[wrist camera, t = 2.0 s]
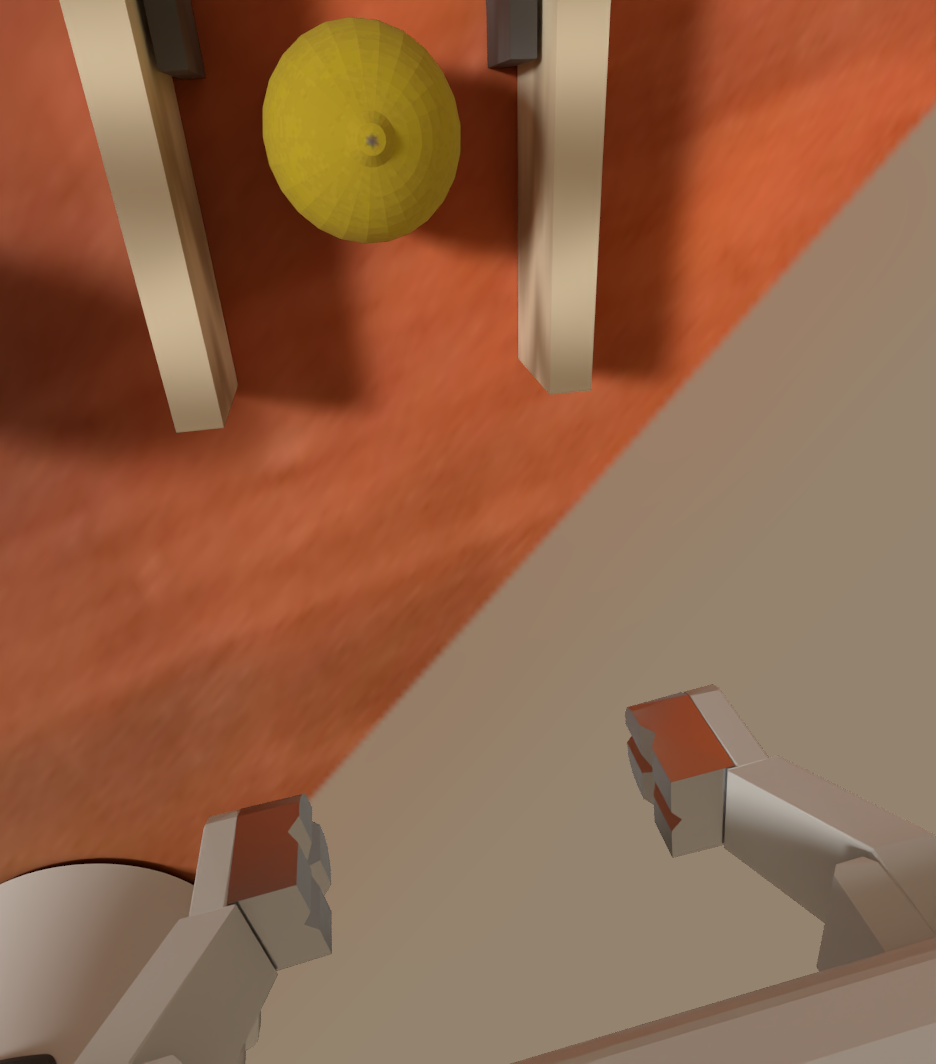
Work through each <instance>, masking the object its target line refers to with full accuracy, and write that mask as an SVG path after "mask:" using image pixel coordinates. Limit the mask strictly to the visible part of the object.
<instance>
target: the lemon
mask: <svg viewBox="0 0 936 1064" xmlns="http://www.w3.org/2000/svg"><path fill="white" fill-rule="evenodd" d="M263 140H264V144H265V149H266V153H267V157H268V162H269V166H270V168H271V170H272V172H273V174H274V176H275V178H276V180H277V183H278V185H279V187H280V189H281V191H282V192H283V194H284V195H285V196H286V197H287V199H288V200H289V201H290V202H291V204H292V205H293V206H294V207H295V209H296V210H297V211H298V212H299V213H300V214H301V215H302V216H304V217H305V218H306V219H307V220H308V221H310V222H311V223H312V224H313V225H315V226H316V227H317V228H318V229H320V230H322V231H325V232H327V233H329V234H331V235H333V236H335V237H337V238H339V239H343V240H348V241H354V242H359V243H377V242H388V241H391V240H394V239H396V238H399V237H402V236H404V235H407V234H410V233H411V232H412V231H414V230H415V229H417V228H418V227H419V226H421V225H422V224H423V223H425V222H426V221H428V220H429V218H430V217H431V216H432V215H433V214H434V212H435V211H436V210H437V209H438V208H439V206H440V205H441V204H442V203H443V202H444V200H445V198H446V196H447V194H448V191H449V189H450V187H451V185H452V183H453V181H454V179H455V175H456V171H457V166H458V162H459V157H460V142H461V125H460V120H459V116H458V111H457V106H456V101H455V97H454V95H453V93H452V91H451V88H450V86H449V84H448V82H447V80H446V77H445V75H444V73H443V71H442V70H441V68H440V67H439V66H438V65H437V63H436V62H435V61H434V59H433V58H432V57H431V55H430V54H429V53H428V52H427V50H426V49H425V48H424V47H423V46H421V45H420V44H419V43H418V42H416V41H415V40H414V39H413V38H411V37H410V36H409V35H408V34H406V33H405V32H404V31H402V30H400V29H398V28H395V27H393V26H391V25H388V24H386V23H383V22H381V21H379V20H373V19H364V18H355V17H348V18H343V19H337V20H332V21H327V22H324V23H322V24H320V25H318V26H316V27H315V28H313V29H311V30H309V31H307V32H306V33H304V34H302V35H301V36H300V37H299V38H298V39H297V40H296V41H295V42H294V43H293V44H292V45H291V46H290V47H289V48H288V49H287V51H286V52H285V53H284V54H283V55H282V56H281V58H280V60H279V62H278V64H277V66H276V68H275V70H274V72H273V73H272V75H271V77H270V79H269V82H268V87H267V91H266V95H265V100H264V104H263Z"/></svg>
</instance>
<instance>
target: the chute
mask: <svg viewBox="0 0 936 1064" xmlns="http://www.w3.org/2000/svg"><path fill="white" fill-rule="evenodd" d="M59 1H60V4H61V8H62V12H63V15H64V19H65V23H66V27H67V30H68V34H69V38H70V41H71V45H72V49H73V52H74V56H75V60H76V64H77V67H78V71H79V75H80V78H81V82H82V86H83V89H84V93H85V97H86V101H87V104H88V108H89V112H90V115H91V119H92V123H93V126H94V130H95V134H96V138H97V141H98V145H99V149H100V152H101V156H102V160H103V163H104V167H105V171H106V175H107V178H108V182H109V186H110V189H111V193H112V197H113V200H114V204H115V208H116V212H117V215H118V219H119V223H120V226H121V230H122V234H123V237H124V241H125V245H126V249H127V252H128V256H129V260H130V263H131V267H132V271H133V275H134V278H135V282H136V286H137V289H138V293H139V297H140V300H141V304H142V308H143V312H144V315H145V319H146V323H147V326H148V330H149V334H150V337H151V341H152V345H153V349H154V352H155V356H156V360H157V363H158V367H159V371H160V374H161V378H162V382H163V386H164V389H165V393H166V397H167V400H168V404H169V408H170V411H171V415H172V419H173V423H174V426H175V430H176V433H178V432H187V431H197V430H207V429H217V428H224V426H225V423H226V420H227V417H228V414H229V411H230V408H231V405H232V402H233V399H234V396H235V393H236V390H237V387H238V382H237V378H236V373H235V368H234V364H233V359H232V354H231V350H230V345H229V340H228V336H227V331H226V326H225V322H224V317H223V312H222V308H221V303H220V298H219V294H218V289H217V284H216V280H215V275H214V270H213V266H212V261H211V256H210V252H209V247H208V242H207V238H206V233H205V228H204V224H203V219H202V214H201V210H200V205H199V200H198V196H197V191H196V186H195V182H194V177H193V172H192V168H191V163H190V158H189V154H188V149H187V144H186V140H185V135H184V130H183V126H182V121H181V116H180V112H179V107H178V102H177V98H176V93H175V88H174V84H173V79H172V76H173V77H175V78H178V79H191V78H206V76H205V71H204V66H203V61H202V55H201V50H200V45H199V40H198V35H197V30H196V25H195V19H194V14H193V9H192V4H191V0H59ZM486 6H487V53H488V68H499V67H513V66H516V65H517V115H518V359H519V360H520V361H521V362H522V363H523V364H524V366H525V367H526V368H527V369H528V370H529V371H530V372H531V374H532V375H533V376H534V377H535V378H536V379H537V381H538V382H539V383H540V384H541V385H542V386H543V387H544V389H545V390H546V391H547V392H548V393H549V394H560V393H570V392H580V391H590V390H591V381H592V362H593V342H594V322H595V303H596V283H597V263H598V244H599V224H600V204H601V185H602V165H603V145H604V126H605V106H606V86H607V67H608V47H609V27H610V8H611V0H486Z"/></svg>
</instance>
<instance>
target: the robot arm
mask: <svg viewBox="0 0 936 1064" xmlns="http://www.w3.org/2000/svg"><path fill="white" fill-rule="evenodd" d="M625 718H626V725H627V727H628V729H629V731H630V733H631V735H632V736H631V738H630V739H629V741H628V742H627V745H628V755H629V760H630V764H631V768H632V772H633V774H634V778H635V780H636V783H637V785H638V788H639V790H640V792H641V794H642V796H643V798H644V799H645V800H647V801H648V802H650V803H652V804H653V805H654V815H655V823H656V825H657V827H658V829H659V831H660V833H661V835H662V837H663V839H664V841H665V843H666V845H667V847H668V849H669V851H670V853H671V855H672V857H673V858H674V857H678V856H682V855H685V854H690V853H694V852H697V851H701V850H705V849H710V848H713V847H718V846H721V845H724V848H725V849H726V850H728V851H729V852H730V853H732V854H733V855H735V856H736V857H737V858H738V859H740V860H741V861H742V862H744V863H745V864H747V865H748V866H749V867H750V868H752V869H753V870H754V871H756V872H757V873H758V874H760V875H761V876H762V877H764V878H765V879H767V880H768V881H769V882H771V883H772V884H773V885H774V886H776V887H777V888H779V889H780V890H781V891H782V892H784V893H785V894H786V895H788V896H789V897H790V898H792V899H793V900H794V901H796V902H797V903H798V904H800V905H801V906H802V907H804V908H805V909H807V910H808V911H809V912H810V913H812V914H813V915H814V916H816V917H817V918H818V919H820V920H821V921H823V922H824V923H825V925H824V930H823V936H822V941H821V946H820V951H819V957H818V962H817V968H818V970H819V972H817V973H814V974H810V975H807V976H804V977H800V978H797V979H794V980H790V981H787V982H783V983H780V984H777V985H773V986H770V987H767V988H763V989H760V990H756V991H754V992H750V993H746V994H743V995H740V996H736V997H733V998H730V999H726V1000H723V1001H720V1002H716V1003H713V1004H709V1005H706V1006H703V1007H699V1008H696V1009H693V1010H689V1011H686V1012H682V1013H679V1014H676V1015H673V1016H669V1017H666V1018H662V1019H659V1020H656V1021H652V1022H649V1023H645V1024H642V1025H639V1026H635V1027H632V1028H629V1029H625V1030H622V1031H619V1032H615V1033H612V1034H609V1035H605V1036H602V1037H598V1038H595V1039H592V1040H589V1041H585V1042H582V1043H578V1044H575V1045H571V1046H568V1047H565V1048H562V1049H558V1050H555V1051H551V1052H548V1053H545V1054H541V1055H538V1056H535V1057H532V1058H528V1059H525V1060H522V1061H518V1062H515V1063H511V1064H936V836H935V835H934V834H933V833H930V832H929V831H927V830H925V829H923V828H921V827H919V826H917V825H915V824H913V823H911V822H909V821H907V820H905V819H903V818H901V817H899V816H897V815H895V814H893V813H891V812H889V811H887V810H885V809H883V808H881V807H879V806H877V805H875V804H873V803H871V802H869V801H867V800H865V799H863V798H861V797H859V796H857V795H855V794H853V793H851V792H849V791H847V790H846V789H844V788H841V787H839V786H838V785H836V784H833V783H832V782H830V781H828V780H826V779H824V778H822V777H820V776H818V775H816V774H814V773H812V772H810V771H808V770H806V769H804V768H802V767H800V766H798V765H796V764H794V763H792V762H790V761H788V760H786V759H784V758H782V757H780V756H774V757H770V758H769V756H768V755H767V754H766V752H765V751H764V750H763V748H762V747H761V745H760V744H759V743H758V741H757V740H756V739H755V737H754V736H753V735H752V733H751V732H750V730H749V729H748V728H747V726H746V725H745V723H744V722H743V721H742V719H741V718H740V716H739V715H738V714H737V712H736V711H735V710H734V708H733V707H732V705H731V704H730V703H729V701H728V700H727V699H726V697H725V696H724V695H723V693H722V692H721V690H720V689H719V688H718V687H717V686H715V685H713V684H711V685H708V686H704V687H700V688H697V689H693V690H689V691H686V692H684V693H682V692H680V693H677V694H673V695H669V696H666V697H662V698H659V699H655V700H651V701H648V702H644V703H641V704H637V705H633V706H630V707H627V709H626V712H625ZM330 885H331V869H330V860H329V853H328V847H327V843H326V840H325V836H324V833H323V831H322V829H321V827H320V825H319V824H317V823H315V822H313V821H312V806H311V804H310V802H309V800H308V798H307V796H306V794H301V795H297V796H292V797H288V798H284V799H280V800H276V801H271V802H267V803H263V804H259V805H254V806H250V807H246V808H242V809H239V810H235V811H231V812H227V813H223V814H219V815H215V816H211V817H209V819H208V821H207V823H206V825H205V827H204V831H203V836H202V842H201V848H200V854H199V860H198V865H197V871H196V877H195V883H194V885H192V884H190V883H188V882H186V881H184V880H182V879H179V878H177V877H174V876H172V875H169V874H166V873H163V872H159V871H155V870H151V869H147V868H142V867H136V866H129V865H119V864H78V865H68V866H60V867H54V868H49V869H44V870H40V871H36V872H32V873H29V874H25V875H22V876H19V877H17V878H14V879H11V880H9V881H7V882H4V883H2V884H0V1064H245V1060H246V1050H248V1049H250V1048H251V1047H253V1046H254V1045H255V1044H256V1043H257V1041H258V1037H259V1030H260V1022H261V1021H260V1020H261V1008H262V1006H263V1004H264V1002H265V1000H266V998H267V996H268V994H269V992H270V989H271V987H272V985H273V983H274V981H275V979H276V977H277V972H276V971H278V970H281V969H284V968H288V967H291V966H294V965H297V964H300V963H304V962H307V961H310V960H313V959H316V958H320V957H323V956H325V955H329V954H331V953H332V948H331V947H332V946H331V945H332V942H331V941H332V939H331V910H330V908H329V906H328V903H327V901H326V899H325V897H324V895H325V894H326V892H327V890H328V889H329V887H330Z"/></svg>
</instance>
